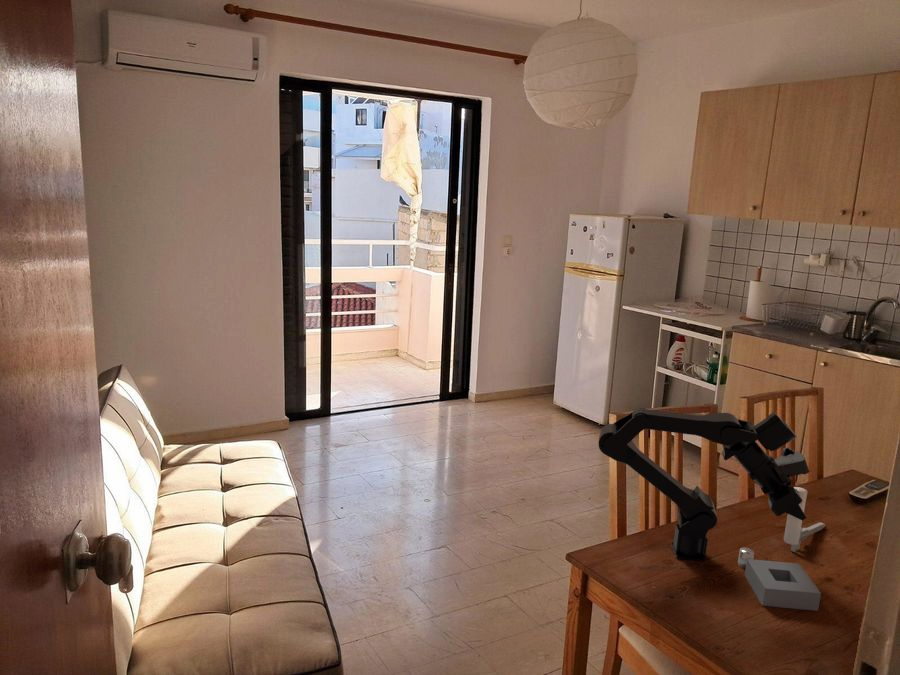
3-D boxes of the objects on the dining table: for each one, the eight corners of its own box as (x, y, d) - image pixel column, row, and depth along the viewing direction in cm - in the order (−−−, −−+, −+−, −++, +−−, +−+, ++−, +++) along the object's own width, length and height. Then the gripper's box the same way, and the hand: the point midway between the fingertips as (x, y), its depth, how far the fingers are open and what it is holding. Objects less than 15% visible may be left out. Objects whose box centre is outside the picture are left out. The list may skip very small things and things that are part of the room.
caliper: (794, 554, 158) (799, 530, 156) (790, 552, 158) (794, 528, 157) (825, 527, 171) (829, 504, 170) (820, 525, 172) (824, 503, 171)
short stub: (740, 567, 151) (742, 553, 150) (736, 560, 153) (738, 546, 153) (753, 569, 150) (756, 555, 150) (749, 561, 153) (751, 548, 152)
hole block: (762, 605, 137) (765, 588, 136) (744, 575, 148) (747, 559, 147) (817, 610, 136) (821, 593, 135) (796, 579, 147) (799, 563, 146)
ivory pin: (786, 544, 148) (795, 492, 145) (781, 537, 151) (790, 486, 148) (800, 545, 148) (809, 493, 145) (795, 538, 150) (804, 487, 148)
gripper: (798, 457, 136) (848, 515, 136) (778, 427, 154) (823, 478, 153) (751, 487, 140) (800, 543, 140) (737, 454, 157) (781, 504, 157)
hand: (802, 515), depth 147 cm, fingers closed on ivory pin, 3 cm apart
